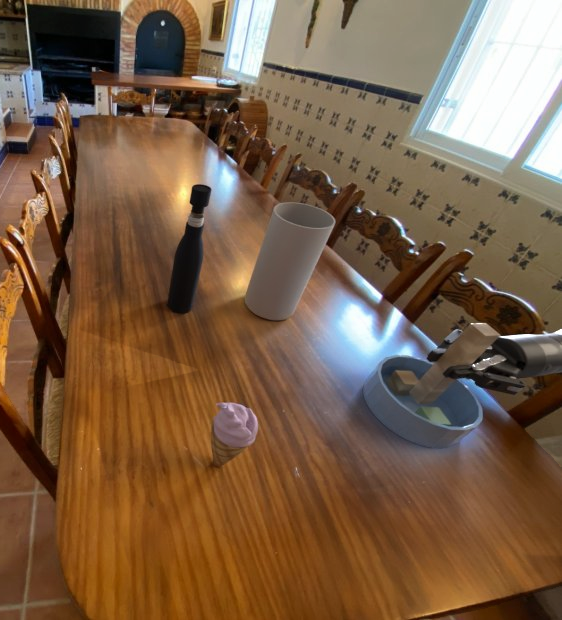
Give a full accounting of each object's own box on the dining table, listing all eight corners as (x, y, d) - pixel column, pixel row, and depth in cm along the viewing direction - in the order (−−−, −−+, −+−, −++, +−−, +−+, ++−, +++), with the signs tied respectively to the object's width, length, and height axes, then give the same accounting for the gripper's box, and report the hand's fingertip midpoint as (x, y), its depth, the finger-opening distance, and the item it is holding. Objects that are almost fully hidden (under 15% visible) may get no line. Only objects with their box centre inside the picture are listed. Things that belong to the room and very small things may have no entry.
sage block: (439, 435, 65) (451, 424, 63) (420, 434, 65) (432, 423, 62) (427, 418, 67) (439, 407, 65) (409, 417, 67) (420, 406, 65)
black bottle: (188, 316, 86) (214, 196, 67) (163, 309, 88) (181, 190, 68) (195, 301, 91) (221, 185, 71) (171, 294, 92) (190, 179, 73)
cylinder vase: (266, 286, 98) (299, 198, 82) (303, 312, 90) (347, 221, 74) (233, 299, 93) (261, 208, 76) (270, 328, 85) (309, 234, 69)
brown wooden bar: (431, 403, 67) (501, 335, 55) (418, 404, 66) (485, 335, 55) (421, 391, 69) (485, 322, 57) (408, 392, 68) (470, 323, 57)
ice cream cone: (191, 447, 60) (209, 393, 51) (224, 438, 62) (247, 384, 52) (209, 486, 56) (232, 434, 46) (244, 475, 57) (273, 423, 48)
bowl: (482, 450, 64) (507, 432, 60) (390, 446, 63) (409, 427, 59) (425, 376, 76) (442, 357, 72) (348, 372, 76) (361, 352, 72)
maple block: (412, 395, 71) (422, 384, 69) (395, 395, 71) (404, 384, 69) (402, 381, 74) (411, 370, 72) (386, 381, 74) (395, 370, 72)
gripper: (543, 401, 61) (458, 412, 58) (472, 342, 71) (397, 349, 68) (581, 373, 56) (491, 383, 53) (499, 314, 66) (420, 320, 63)
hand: (438, 364), depth 61 cm, fingers closed on brown wooden bar, 3 cm apart
